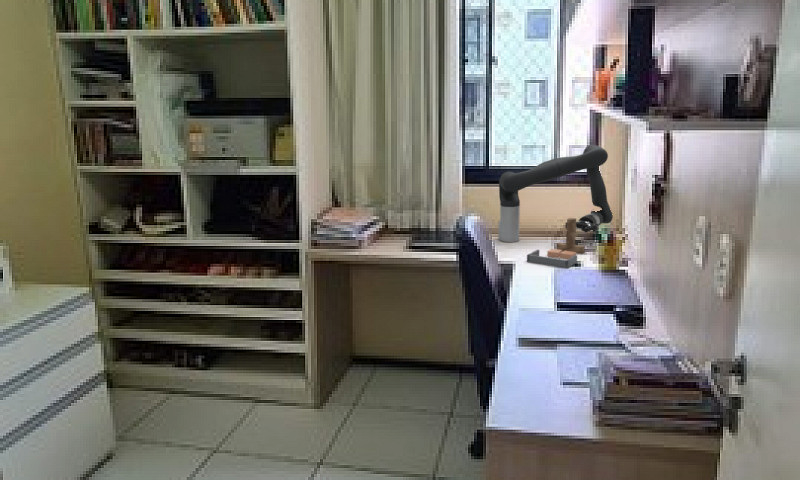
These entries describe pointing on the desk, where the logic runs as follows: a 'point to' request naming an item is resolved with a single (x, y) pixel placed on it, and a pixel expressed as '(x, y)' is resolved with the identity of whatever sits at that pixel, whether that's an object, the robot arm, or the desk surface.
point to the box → (551, 260)
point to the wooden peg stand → (571, 239)
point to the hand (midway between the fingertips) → (576, 229)
